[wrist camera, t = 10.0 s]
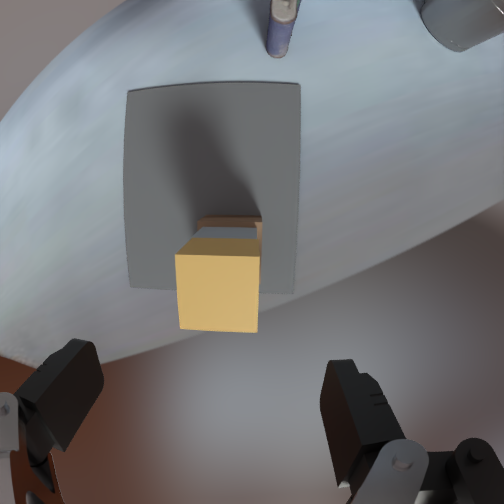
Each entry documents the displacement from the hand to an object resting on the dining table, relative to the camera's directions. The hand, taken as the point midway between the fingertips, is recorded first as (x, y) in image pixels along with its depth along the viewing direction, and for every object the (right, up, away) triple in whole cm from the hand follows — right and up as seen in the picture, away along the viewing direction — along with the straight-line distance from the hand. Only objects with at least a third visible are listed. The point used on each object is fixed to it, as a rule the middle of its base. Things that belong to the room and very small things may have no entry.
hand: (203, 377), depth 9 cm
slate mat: (-3, +11, +22) cm, 25 cm away
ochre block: (0, +3, +13) cm, 14 cm away
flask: (+5, +30, +17) cm, 35 cm away
